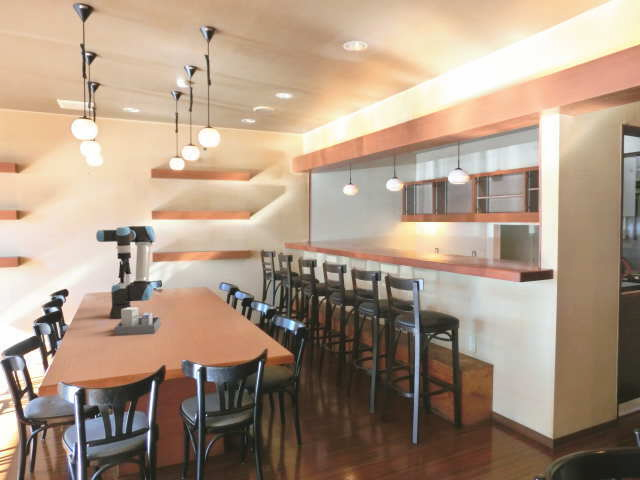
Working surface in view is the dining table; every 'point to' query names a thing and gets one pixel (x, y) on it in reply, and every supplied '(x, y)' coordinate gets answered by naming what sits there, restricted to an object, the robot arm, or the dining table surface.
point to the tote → (138, 328)
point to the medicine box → (147, 319)
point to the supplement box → (129, 316)
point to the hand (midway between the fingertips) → (125, 286)
